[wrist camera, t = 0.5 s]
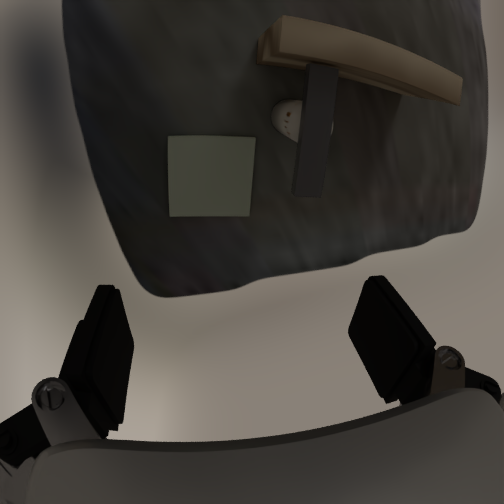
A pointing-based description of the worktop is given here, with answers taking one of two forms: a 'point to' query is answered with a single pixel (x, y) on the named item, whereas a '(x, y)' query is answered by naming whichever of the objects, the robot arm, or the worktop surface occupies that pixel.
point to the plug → (288, 118)
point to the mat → (210, 175)
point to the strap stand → (356, 59)
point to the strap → (314, 130)
